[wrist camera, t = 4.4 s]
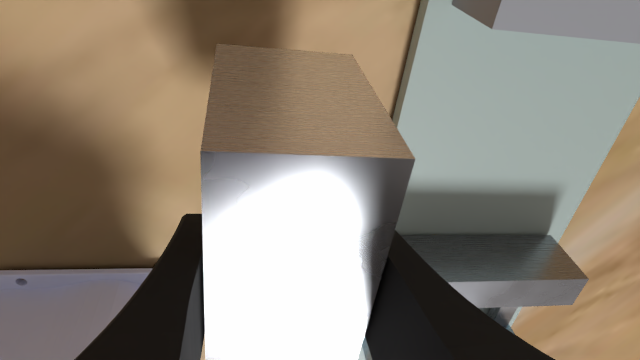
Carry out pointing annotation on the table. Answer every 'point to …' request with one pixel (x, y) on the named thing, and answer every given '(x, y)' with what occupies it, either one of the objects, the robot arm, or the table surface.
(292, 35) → the table surface
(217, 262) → the steel block
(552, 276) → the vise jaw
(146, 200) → the table surface
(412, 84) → the vise
